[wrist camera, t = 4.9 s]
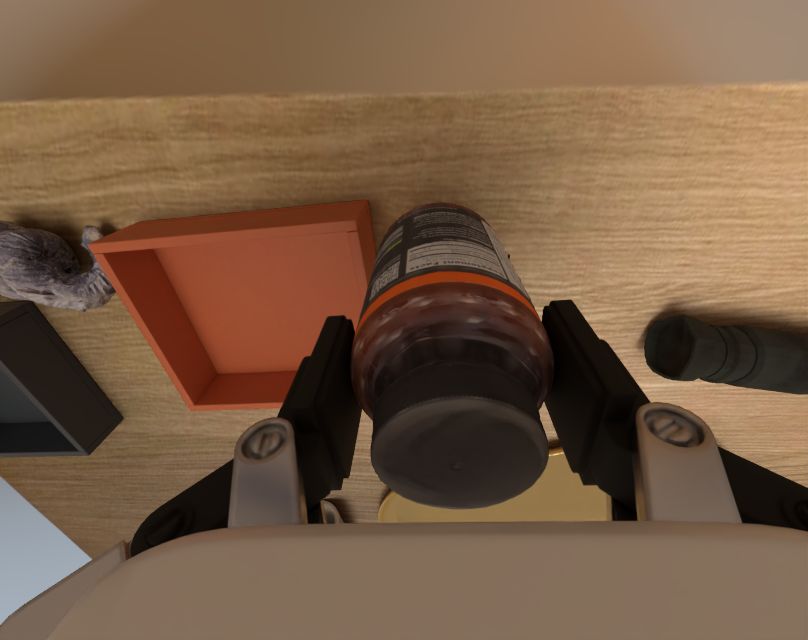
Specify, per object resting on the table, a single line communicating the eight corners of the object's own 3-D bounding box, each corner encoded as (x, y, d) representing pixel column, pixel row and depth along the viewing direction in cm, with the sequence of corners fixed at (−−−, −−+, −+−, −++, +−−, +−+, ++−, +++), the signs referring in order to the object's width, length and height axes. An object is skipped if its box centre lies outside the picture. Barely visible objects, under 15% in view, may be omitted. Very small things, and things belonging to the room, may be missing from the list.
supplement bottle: (471, 322, 19) (517, 550, 10) (366, 294, 18) (307, 509, 9) (522, 219, 16) (665, 412, 6) (396, 180, 15) (350, 332, 6)
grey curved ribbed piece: (145, 240, 25) (17, 238, 25) (66, 210, 19) (-92, 208, 20) (137, 315, 24) (7, 310, 25) (54, 305, 19) (-108, 299, 20)
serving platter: (720, 521, 37) (731, 537, 36) (414, 559, 46) (413, 573, 44) (736, 402, 28) (751, 418, 27) (350, 477, 37) (347, 492, 35)
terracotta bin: (138, 221, 23) (86, 244, 19) (367, 199, 21) (355, 219, 17) (217, 374, 30) (190, 411, 26) (394, 367, 28) (389, 405, 24)
